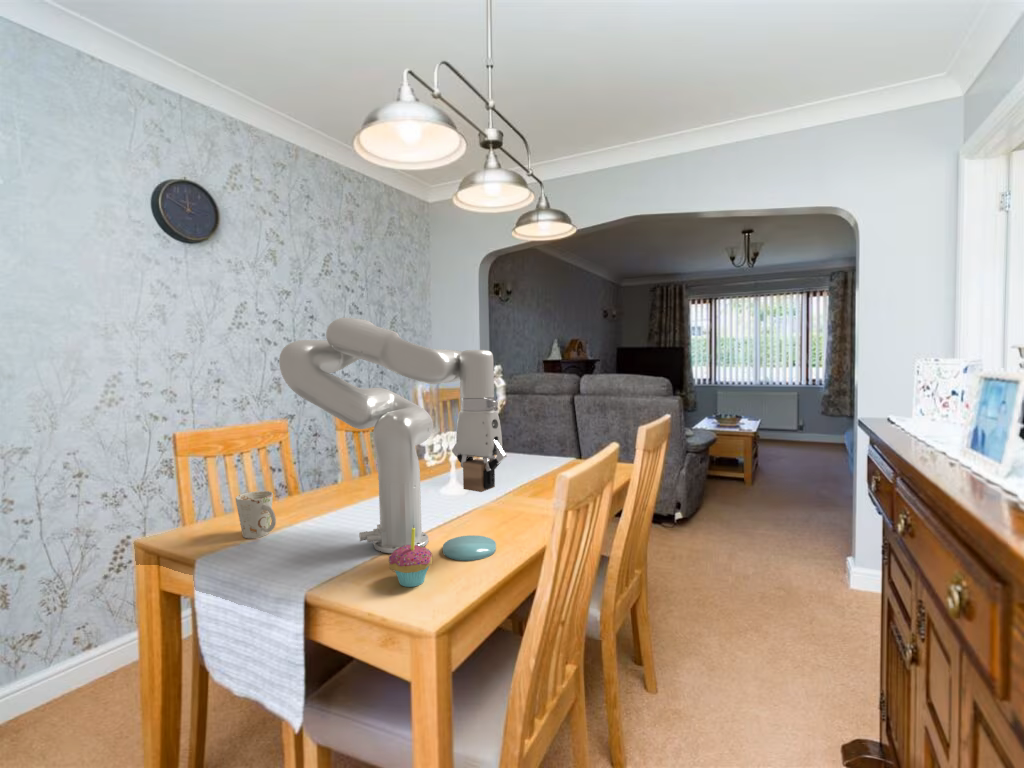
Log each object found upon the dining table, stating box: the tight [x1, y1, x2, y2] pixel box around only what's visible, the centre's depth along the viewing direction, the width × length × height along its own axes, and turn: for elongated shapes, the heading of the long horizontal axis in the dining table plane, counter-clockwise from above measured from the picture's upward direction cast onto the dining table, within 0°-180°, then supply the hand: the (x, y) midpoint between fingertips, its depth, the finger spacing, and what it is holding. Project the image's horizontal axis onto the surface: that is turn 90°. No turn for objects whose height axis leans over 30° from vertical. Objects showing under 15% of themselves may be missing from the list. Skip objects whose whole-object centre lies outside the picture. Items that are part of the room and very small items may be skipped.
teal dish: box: [442, 535, 497, 562], centre depth 116 cm, size 12×12×1 cm
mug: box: [235, 490, 277, 539], centre depth 128 cm, size 8×13×10 cm, turn 60°
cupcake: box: [388, 525, 434, 588], centre depth 100 cm, size 9×8×12 cm
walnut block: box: [462, 458, 496, 493], centre depth 115 cm, size 5×5×6 cm
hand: (479, 485), depth 115 cm, fingers closed on walnut block, 5 cm apart
